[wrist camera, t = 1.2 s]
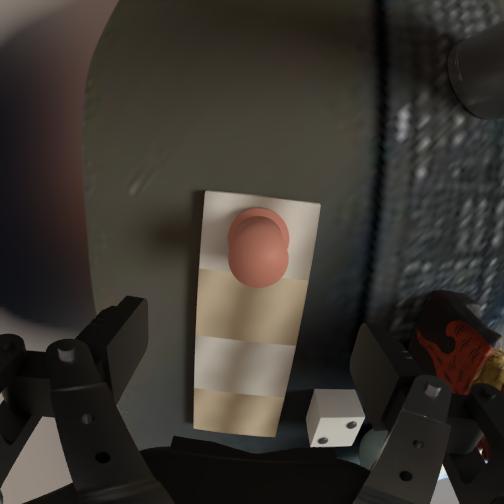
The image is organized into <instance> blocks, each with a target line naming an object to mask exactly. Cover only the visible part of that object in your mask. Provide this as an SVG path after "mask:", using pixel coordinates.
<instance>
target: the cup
mask: <svg viewBox="0 0 504 504" xmlns="http://www.w3.org/2000/svg"><path fill="white" fill-rule="evenodd" d="M387 435H388V431H387V430H385V431H374V429H373V428H372V429H370V430H369V431H368V432H367V433H366V434H365V435H364V436H363V438H362V440H361V442H360V446H359V460H360V466H362V467H365V468H366V469H369V468H370V466H371V464H372V462H373V461H374V459H375V457H376V455H377V453H378V452H379V450H380V448H381V446H382V444H383V442H384V440H385V438H386V437H387Z"/></svg>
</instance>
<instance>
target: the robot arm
mask: <svg viewBox="0 0 504 504" xmlns="http://www.w3.org/2000/svg"><path fill="white" fill-rule="evenodd" d="M447 67H448V75H449V78H450V82H451V85H452V87H453V89H454V91H455V93H456V95H457V97H458V98H459V100H460V101H461V102H462V104H463V105H464V106H465V107H466V108H467V109H468V110H469V111H470V112H471V113H473V114H474V115H475V116H477V117H479V118H482V119H487V120H490V119H499V118H504V21H503V22H501V23H499V24H496V25H494V26H492V27H490V28H488V29H486V30H484V31H482V32H480V33H478V34H476V35H474V36H472V37H470V38H468V39H466V40H464V41H462V42H460V43H458V44H457V45H455V46H454V47H453V48H452V49H451V51H450V53H449V56H448V63H447ZM147 344H148V303H147V299H145V298H139V297H133V296H126V297H125V298H124V299H123V300H122V301H121V302H120V303H119V304H118V305H117V306H111V307H109V308H106V309H104V310H102V311H101V312H100V313H99V314H98V315H97V316H96V318H95V319H93V320H92V321H91V323H90V324H89V325H88V326H86V328H85V329H84V330H83V331H82V332H81V333H80V334H79V335H78V336H77V337H76V338H75V339H61V340H57V341H55V342H53V343H51V344H50V345H49V346H48V347H47V349H46V352H39V351H27V350H26V348H25V344H24V340H23V339H22V338H21V337H20V336H18V335H15V334H2V335H0V393H1V392H2V395H3V397H4V400H3V401H2V403H1V404H0V488H1V486H2V484H3V482H4V480H5V479H6V477H7V475H8V473H9V471H10V470H11V468H12V466H13V464H14V463H15V461H16V459H17V457H18V456H19V454H20V452H21V450H22V449H23V447H24V445H25V444H26V442H27V440H28V439H29V437H30V435H31V434H32V432H33V431H34V429H35V427H36V426H37V424H38V422H39V421H40V419H41V418H42V416H45V417H54V418H55V420H56V425H57V429H58V433H59V437H60V441H61V445H62V449H63V452H64V456H65V459H66V462H67V466H68V468H69V472H70V475H71V478H72V481H73V483H71V484H69V485H66V486H64V487H62V488H60V489H57V490H55V491H53V492H51V493H48V494H46V495H43V496H41V497H38V498H36V499H33V500H31V501H28V502H25V503H23V504H430V502H431V499H432V495H433V493H434V490H435V486H436V483H437V480H438V477H439V474H440V470H441V467H442V464H443V466H444V468H445V470H446V473H447V475H448V477H449V480H450V482H451V484H452V487H453V489H454V491H455V493H456V496H457V498H458V501H459V503H460V504H504V395H503V394H502V393H501V392H500V391H499V390H498V389H497V388H496V387H494V386H492V385H490V384H487V383H476V384H474V385H473V386H472V388H471V390H470V392H469V394H468V395H463V394H455V393H452V389H451V387H450V386H449V384H448V383H447V382H445V381H444V380H442V379H441V378H438V377H436V376H432V375H425V374H424V373H423V371H422V370H421V369H420V367H419V366H418V365H417V363H416V362H415V360H414V359H412V356H411V355H410V354H409V353H407V350H406V348H405V347H404V346H403V344H402V343H400V342H399V341H398V340H396V339H395V338H393V337H391V336H390V335H389V333H388V332H387V331H386V329H385V328H384V326H383V325H382V324H368V323H363V324H362V325H361V326H360V329H359V332H358V335H357V339H356V342H355V346H354V349H353V352H352V355H351V359H350V373H351V376H352V378H353V381H354V383H355V385H356V388H357V390H358V393H359V395H360V397H361V400H362V402H363V405H364V407H365V410H366V412H367V415H368V417H369V419H370V422H371V424H372V427H373V429H374V431H385V430H387V431H388V435H387V437H386V438H385V440H384V442H383V444H382V446H381V448H380V450H379V452H378V453H377V455H376V457H375V459H374V461H373V462H372V464H371V466H370V468H369V469H366V468H365V467H362V466H360V465H358V464H355V463H352V462H349V461H345V460H341V459H337V458H336V454H335V450H334V448H294V449H288V450H282V451H275V452H268V453H261V454H253V453H249V452H245V451H242V450H238V449H235V448H231V447H228V446H225V445H222V444H218V443H215V442H210V441H203V440H196V439H190V438H184V437H178V436H173V440H172V443H171V446H168V447H155V448H149V449H144V450H141V451H139V450H138V448H137V446H136V444H135V442H134V441H133V439H132V437H131V435H130V433H129V431H128V429H127V427H126V425H125V423H124V421H123V419H122V417H121V414H120V412H119V410H118V408H117V406H116V405H117V403H118V401H119V399H120V397H121V395H122V393H123V392H124V390H125V388H126V386H127V384H128V382H129V380H130V379H131V377H132V375H133V373H134V371H135V369H136V368H137V366H138V364H139V362H140V360H141V359H142V357H143V355H144V353H145V351H146V349H147ZM483 435H485V437H486V439H487V440H488V442H489V444H490V445H491V448H492V454H491V458H490V460H489V461H488V463H487V464H486V463H485V461H484V459H483V458H482V456H481V454H480V452H479V450H478V449H477V447H476V445H477V444H478V442H479V441H480V439H481V438H482V436H483ZM0 504H3V495H2V492H1V490H0Z"/></svg>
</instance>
